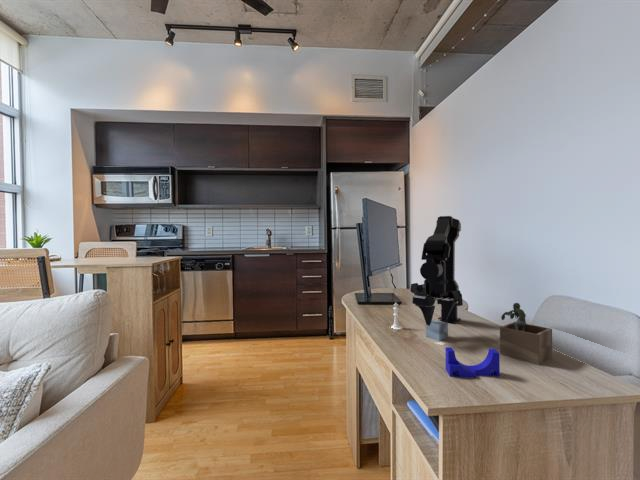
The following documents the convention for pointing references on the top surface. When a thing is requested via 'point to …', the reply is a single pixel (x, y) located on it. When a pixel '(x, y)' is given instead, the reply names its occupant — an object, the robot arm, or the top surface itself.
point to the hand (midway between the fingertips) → (436, 323)
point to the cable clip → (480, 369)
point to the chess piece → (396, 318)
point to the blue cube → (437, 330)
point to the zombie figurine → (517, 313)
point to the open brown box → (526, 343)
